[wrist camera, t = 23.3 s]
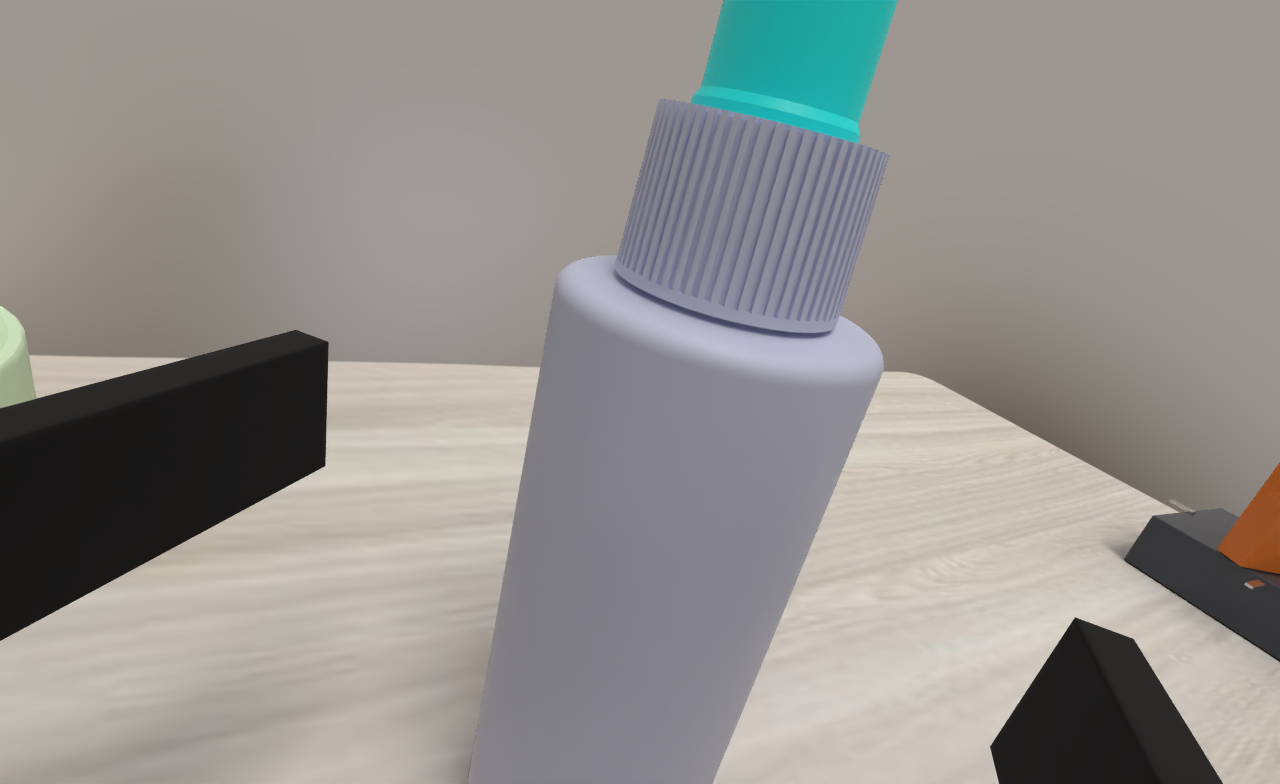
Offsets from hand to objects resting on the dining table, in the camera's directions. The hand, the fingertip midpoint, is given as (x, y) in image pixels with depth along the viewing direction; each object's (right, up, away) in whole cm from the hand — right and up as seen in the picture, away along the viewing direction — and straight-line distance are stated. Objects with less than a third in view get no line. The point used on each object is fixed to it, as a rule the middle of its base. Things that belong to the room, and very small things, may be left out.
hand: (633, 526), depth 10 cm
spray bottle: (-2, -10, +7) cm, 12 cm away
